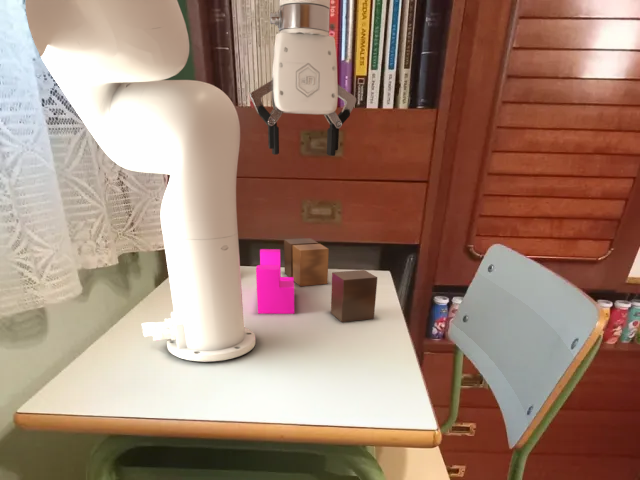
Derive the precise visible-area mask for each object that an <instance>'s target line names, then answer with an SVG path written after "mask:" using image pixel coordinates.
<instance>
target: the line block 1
mask: <svg viewBox="0 0 640 480" xmlns="http://www.w3.org/2000/svg"><path fill="white" fill-rule="evenodd" d="M306 244H319V242H318V241H316V240H315V239H313V238H311V237H305V238H285V239H283V254H284V255H283V256H284V257H283V259H284V260H283V261H284V262H283V263H284V264H283V265H284V273H285V275H287V277H293V245H306Z"/></svg>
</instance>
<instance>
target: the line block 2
mask: <svg viewBox="0 0 640 480" xmlns="http://www.w3.org/2000/svg"><path fill="white" fill-rule="evenodd" d="M377 285H378V276H375V275H374V274H372V273H370V272H369V271H367V270H366V269H358V270H344V271H343V270H342V271H333V272H331V295H330V297H331V299H330V313H331V315H333V316H334V317H335V318H336V319H337V320H338V321H340V323H347V322H357V321H366V320H375V310H376V309H375V308H376V301H377V300H376V299H377V298H376V297H377Z"/></svg>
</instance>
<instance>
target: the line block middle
mask: <svg viewBox="0 0 640 480" xmlns="http://www.w3.org/2000/svg"><path fill="white" fill-rule="evenodd" d="M293 277H294V283H296V284H297V285H298V286H299V287H307V286H318V285H320V286H321V285H328V281H329V248H328V247H326V246H325V245H323V244H321V243H318V244H306V245H293Z"/></svg>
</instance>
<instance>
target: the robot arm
mask: <svg viewBox="0 0 640 480" xmlns="http://www.w3.org/2000/svg"><path fill="white" fill-rule="evenodd" d="M24 2H25V3H24V4H25V14H26V20H27V24H28V28H29V31H30V35H31V37H32V40H33V43H34V45H35V47H36V50H37V52H38V55H39V56H40V58H41V60H42V62H43V63H44V65H45V66H46V68H47V70H48V71H49V73H50V75H51V76H52V78H53V80H54V81H55V82H56V84H57V85H58V86H59V88H60V89H61V91H62V92H63V94H64V96H65V97H66V99H67V100H68V101H69V103H70V105H71V107H73V109H74V110H75V112H76V114H77V115H78V117H79V118H80V119H81V121H82V122H83V124H84V125H85V127H86V129H87V130H88V132H89V134H91V135H92V137H93V139H94V140H95V141H96V143H97V144H98V146H99V147H100V148H101V149H102V151H103V152H104V153H105V154H106V155H107V157H108V158H109V159H110V160H111V161H113V163H115V164H116V165H117V166H119V167H121V168H123V169H124V170H128V171H131V172H136V173H137V172H138V173H145V174H159V175H160V174H161V175H168V176H169V178H168V183H167V186H166V189H165V191H164V194H163V197H162V200H161V205H160V226H161V232H162V239H163V245H164V253H165V259H166V265H167V266H166V267H167V272H168V273H167V274H168V279H169V287H170V295H171V300H172V301H171V302H172V308H173V311H171V312H170V317H169V318H164V321H157V322H155V321H149V322H141V330H142V334H143V337H144V338H147V337H152V340H153V341H163V340H166V346H167V350H168V352H169V353H171V354H172V355H173V356H175V357H177V358H180V359H182V360H185V361H191V362H192V361H193V362H201V363H202V362H205V363H208V362H209V363H210V362H222V361H227V360H232V359H235V358H239V357H241V356H243V355H246V354H248V353H249V352H250V351H251V350H253V349H254V347H255V345H256V335H255V333H254V332H253V330H251V329H249V328H248V327H245V324H244V323H245V321H244V320H245V319H244V306H243V290H242V276H241V275H242V274H241V259H240V244H239V231H238V213H237V173H238V163H239V154H240V144H241V125H240V119H239V115H238V111H237V109H236V107H235V105H234V103H233V102H232V100H231V99H230V97H229V96H228V95H227V94H226V93H225V91H223V90H221V89H220V88H219V87H217V86H215V85H214V84H211V83H208V82H204V81H200V80H193V79H170V78H172V77H174V76H177V75H178V74H179V73H180V72H181V71H182V70H183V69H184V68H185V67H186V64H187V62H188V59H189V56H190V38H189V33H188V29H187V24H186V21H185V18H184V15H183V13H182V10H181V7H180V4H179V1H178V0H25V1H24ZM330 9H331V0H279V8H278V10H277V11H274V12H270V13H269V24H270V25H274V26H277V28H278V33H276V34H275V38H274V46H273V55H272V56H273V57H272V73H271V80H269V81H268V82H266V83H264V84H262V85H261V86H259V87H258V88H256V89H254V90H253V91H251V92H250V93H249V98H250V100H251V102H252V105H253V107H254V109H255V111H256V113H257V115H258V116H259V117H260V119H262V121H263V122H264V123H265V125H266V126H267V139H268V141H267V142H268V145H267V146H268V149H270V150H271V154H272V155H277V156H278V155H279V154H280V129H279V126H278V123H277V122H278V120H279V119H280V118H281V116H282V115H283V114H298V115H323V116H324V117H325V119H326V121H327V122H328V124H329V127H328V128H327V134H326V135H327V136H326V137H327V138H326V155H327V156H331V157H335V156H336V151H338V150H339V140H340V139H339V138H340V128H342V126H343V124H344V123H345V122H346V121H347V120H348V119H349V118H350V116H351V112H352V111H353V109H354V107H355V105H356V103H357V97H356V96H355V95H353V94H352V93H351V92H349V91H348V90H346V89H345V88H344V87H342V86H341V85H340V84H338V61H337V59H338V58H337V47H336V39H335V37H334V36H331V35H330V20H331V19H330V17H331V16H330V15H331V10H330ZM269 93H271V105H272V108H273V109H272V110H271V111H270V112H269V111H268V110H267V108H265V106H264V104H263V101H262V98H263V97H265V96H266V95H267V94H269ZM338 99H340V100H342V101H343V103H344V105H343V108H342V110H340V112H339V113H338V114H337V112H336V110H337V108H338Z"/></svg>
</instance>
